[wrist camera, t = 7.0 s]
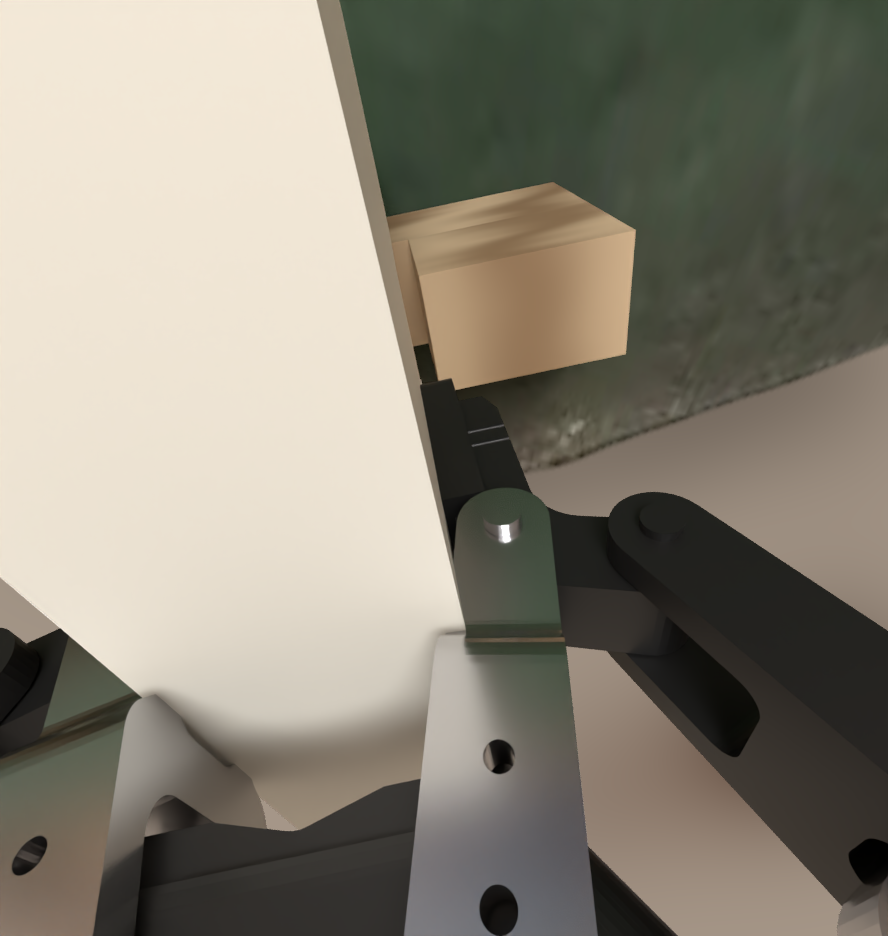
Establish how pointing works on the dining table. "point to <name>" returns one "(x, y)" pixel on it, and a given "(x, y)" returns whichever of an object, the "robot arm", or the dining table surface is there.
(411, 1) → the dining table surface
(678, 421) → the dining table surface
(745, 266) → the dining table surface
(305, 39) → the white rectangular block
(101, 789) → the robot arm
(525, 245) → the oak base
